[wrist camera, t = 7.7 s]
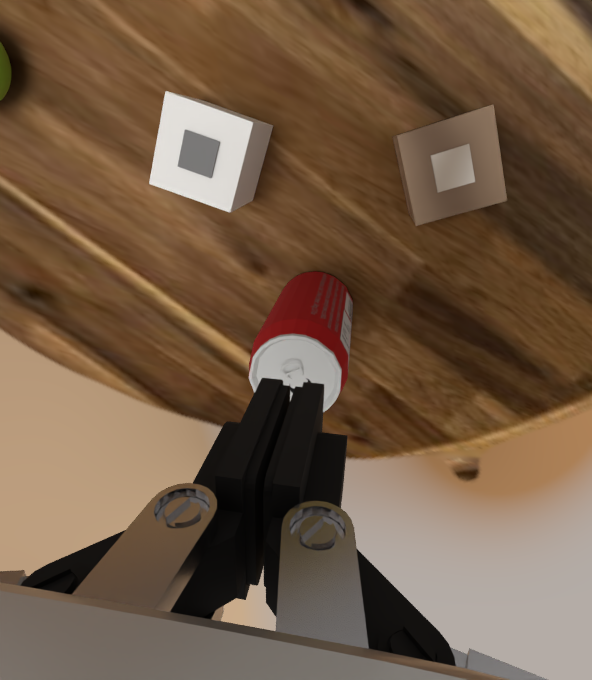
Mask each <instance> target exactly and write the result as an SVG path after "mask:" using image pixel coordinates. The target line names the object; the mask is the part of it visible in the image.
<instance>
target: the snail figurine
mask: <svg viewBox="0 0 592 680" xmlns="http://www.w3.org/2000/svg"><path fill="white" fill-rule="evenodd" d="M10 83H11V65H10V61H9V58H8V55H7V53H6V50H5V48H4V47H3V45H2V43H1V42H0V101H1V100H2V99H3V98H4V96H5V95H6V93H7V92H8V89H9V87H10Z"/></svg>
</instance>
